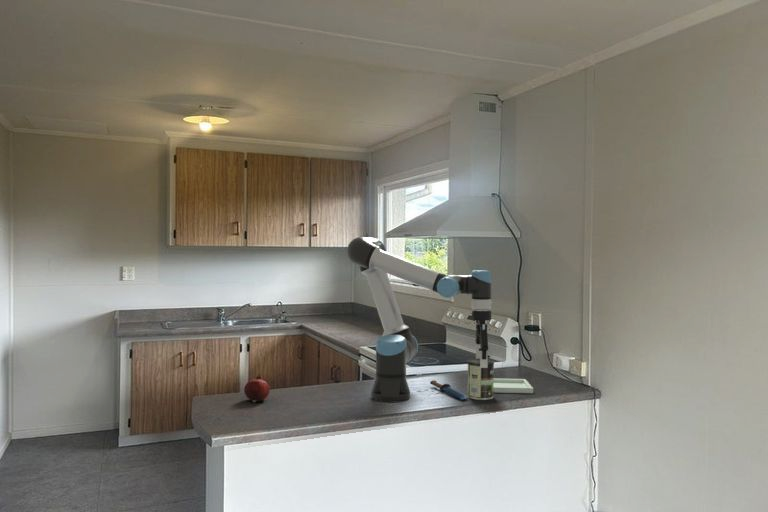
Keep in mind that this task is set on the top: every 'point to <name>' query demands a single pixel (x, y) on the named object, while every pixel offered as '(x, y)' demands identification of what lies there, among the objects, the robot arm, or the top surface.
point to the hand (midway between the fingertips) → (481, 364)
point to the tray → (511, 386)
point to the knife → (449, 390)
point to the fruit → (256, 389)
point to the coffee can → (480, 380)
